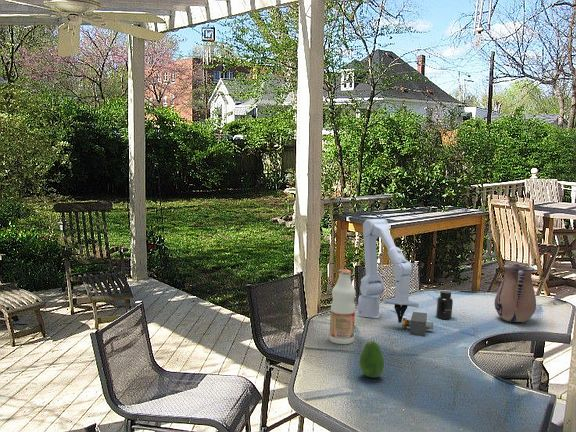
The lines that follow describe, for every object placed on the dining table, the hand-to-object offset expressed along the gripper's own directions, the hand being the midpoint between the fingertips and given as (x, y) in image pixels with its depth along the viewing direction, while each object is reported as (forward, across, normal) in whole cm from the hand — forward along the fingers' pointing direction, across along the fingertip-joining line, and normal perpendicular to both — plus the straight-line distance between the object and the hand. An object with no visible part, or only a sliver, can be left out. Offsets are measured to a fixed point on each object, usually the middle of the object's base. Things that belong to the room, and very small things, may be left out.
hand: (400, 322), depth 252 cm
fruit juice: (+3, -20, -26) cm, 33 cm away
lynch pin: (+2, +7, 0) cm, 8 cm away
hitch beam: (+3, +8, 0) cm, 8 cm away
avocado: (+3, -4, -59) cm, 59 cm away
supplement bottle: (+3, +18, +24) cm, 30 cm away
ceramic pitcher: (+3, +49, +31) cm, 58 cm away
